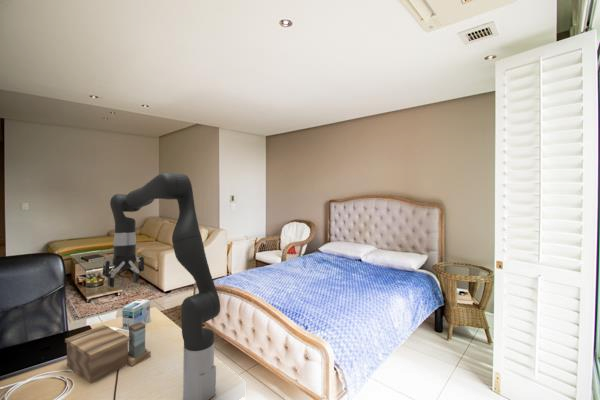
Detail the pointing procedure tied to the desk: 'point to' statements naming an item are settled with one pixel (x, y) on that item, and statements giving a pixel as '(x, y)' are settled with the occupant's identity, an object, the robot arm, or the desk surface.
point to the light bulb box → (136, 313)
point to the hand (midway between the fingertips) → (123, 284)
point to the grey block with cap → (136, 339)
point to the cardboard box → (100, 353)
